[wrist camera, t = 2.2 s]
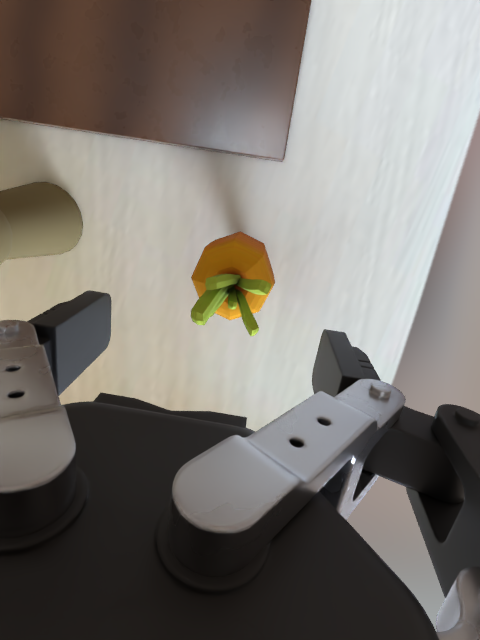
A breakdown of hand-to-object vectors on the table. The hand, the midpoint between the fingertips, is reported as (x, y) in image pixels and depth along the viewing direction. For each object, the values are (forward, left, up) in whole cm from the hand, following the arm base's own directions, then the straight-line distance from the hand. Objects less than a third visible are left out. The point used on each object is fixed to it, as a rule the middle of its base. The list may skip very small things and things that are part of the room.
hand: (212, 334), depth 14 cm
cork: (-17, 0, -19) cm, 25 cm away
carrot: (0, 0, -19) cm, 19 cm away
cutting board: (-10, +13, -19) cm, 25 cm away
